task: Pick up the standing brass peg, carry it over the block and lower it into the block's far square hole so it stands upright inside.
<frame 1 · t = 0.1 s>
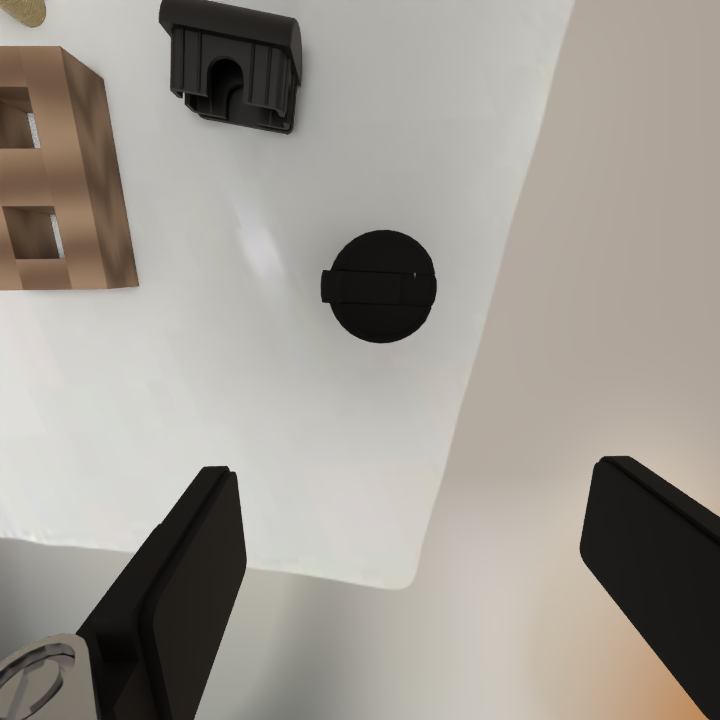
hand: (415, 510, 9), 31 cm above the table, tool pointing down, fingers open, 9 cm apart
end cap: (249, 86, 33), on the table
travel mug: (366, 277, 38), on the table
hole block: (66, 190, 35), on the table
brass peg: (28, 6, 31), on the table
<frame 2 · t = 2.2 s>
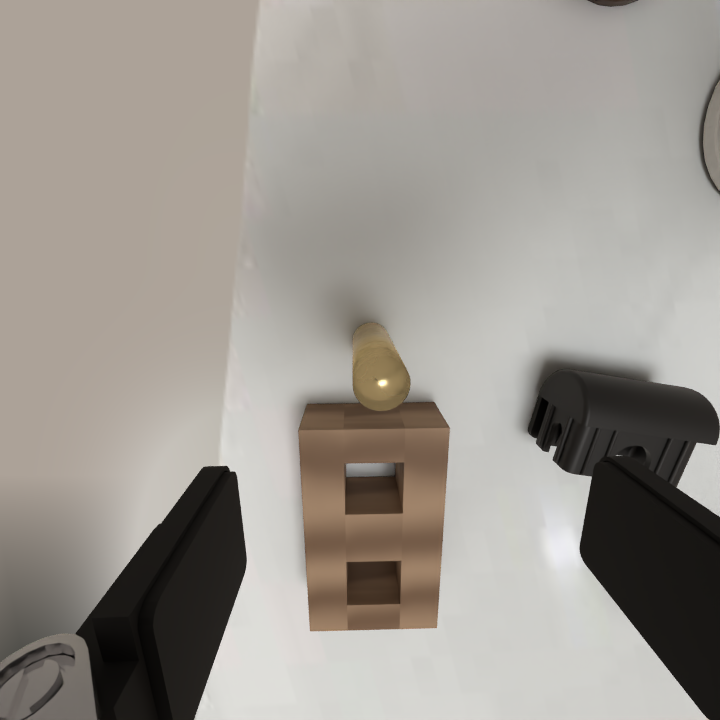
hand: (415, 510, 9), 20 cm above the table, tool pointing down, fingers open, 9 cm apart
end cap: (584, 403, 31), on the table
hole block: (370, 498, 33), on the table
brass peg: (370, 340, 29), on the table
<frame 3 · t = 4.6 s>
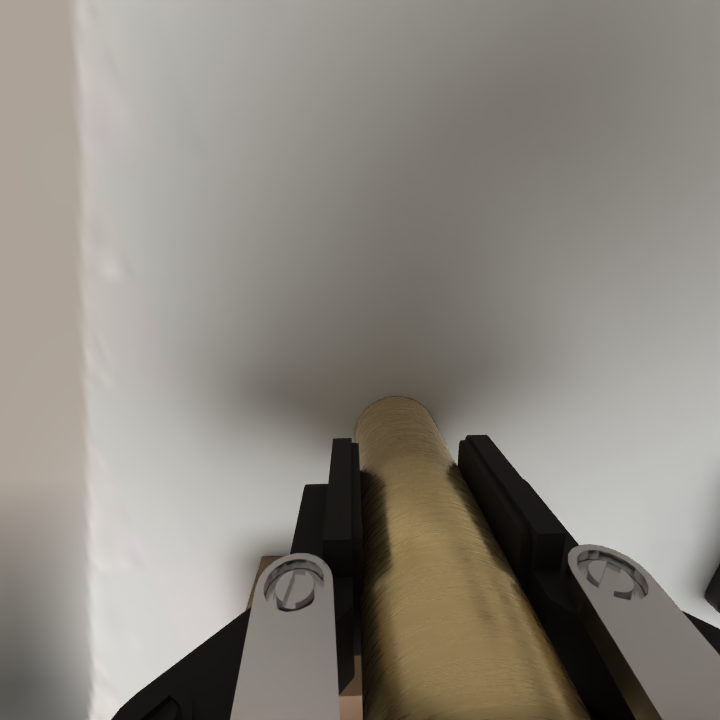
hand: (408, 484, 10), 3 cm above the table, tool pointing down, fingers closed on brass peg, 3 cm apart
hole block: (391, 712, 17), on the table
brass peg: (395, 433, 13), on the table, touching gripper
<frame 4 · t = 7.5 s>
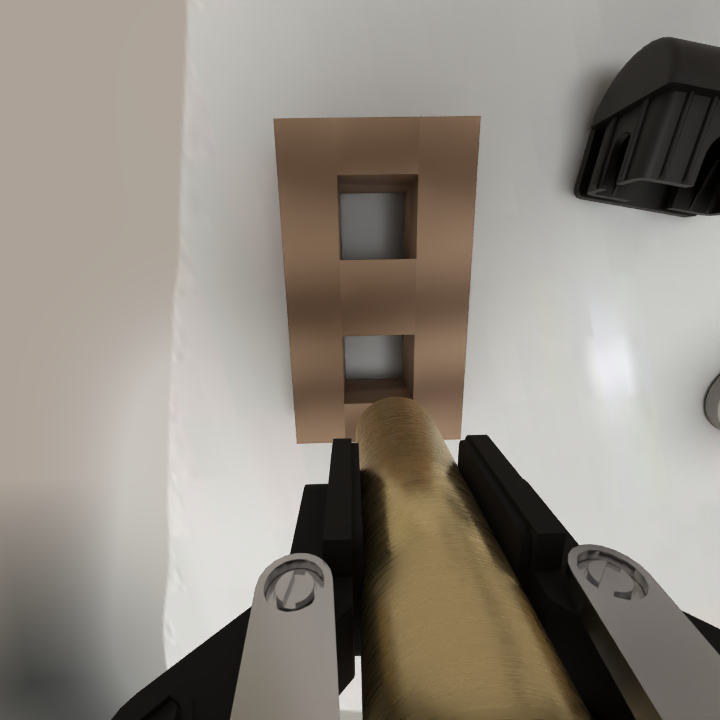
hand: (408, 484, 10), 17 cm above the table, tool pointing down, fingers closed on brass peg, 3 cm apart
end cap: (646, 154, 24), on the table
hole block: (373, 292, 26), on the table
brass peg: (395, 433, 13), point 14 cm above the table, touching gripper
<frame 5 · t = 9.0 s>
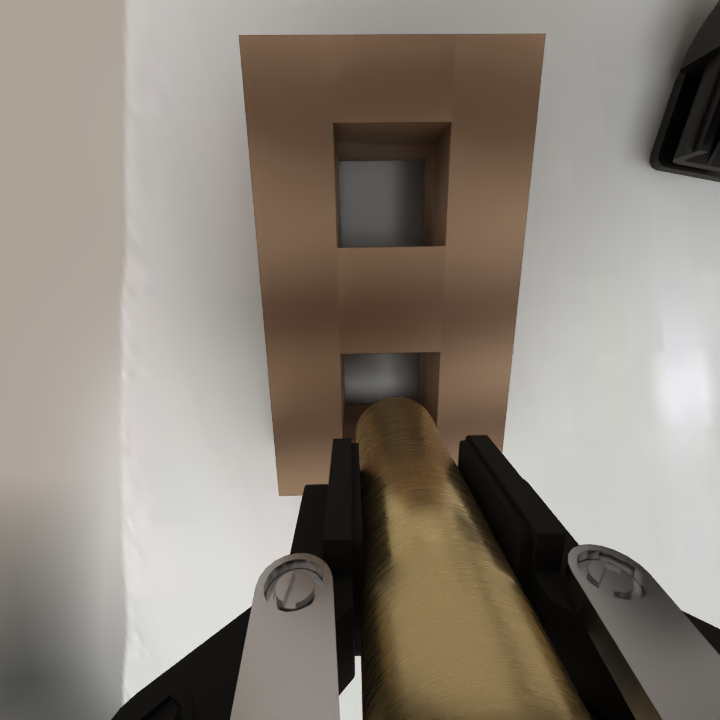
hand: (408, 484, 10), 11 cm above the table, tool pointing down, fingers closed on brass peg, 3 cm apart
hole block: (381, 293, 20), on the table
brass peg: (395, 434, 13), point 8 cm above the table, touching gripper
when the fingers open (6 cm above the table, at t = 10.4 s): brass peg drops 3 cm, resting in hole block.
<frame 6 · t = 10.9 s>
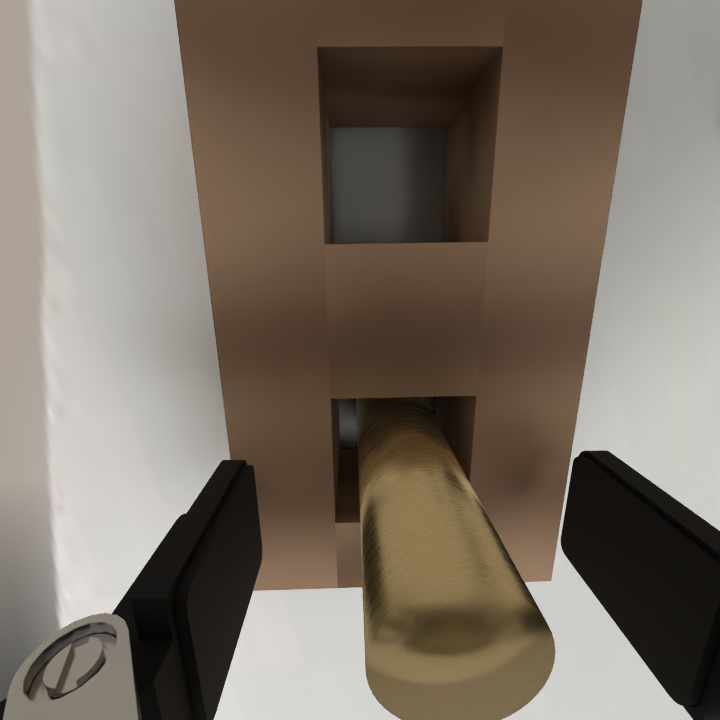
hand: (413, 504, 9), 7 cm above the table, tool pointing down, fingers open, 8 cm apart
hole block: (387, 305, 15), on the table
brass peg: (388, 402, 16), resting in hole block
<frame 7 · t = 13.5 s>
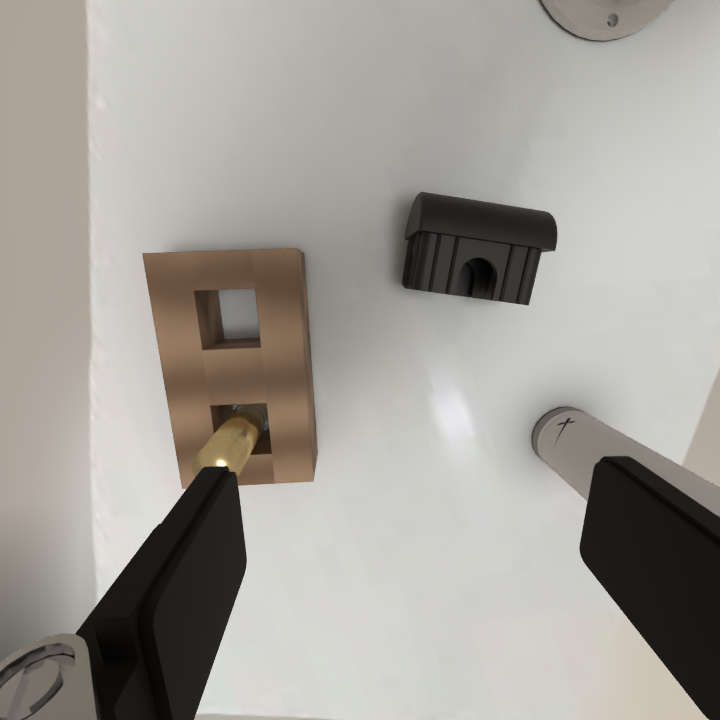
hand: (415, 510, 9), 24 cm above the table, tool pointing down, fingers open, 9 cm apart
end cap: (456, 254, 31), on the table
travel mug: (558, 434, 36), on the table
hole block: (251, 362, 32), on the table
brass peg: (257, 407, 33), resting in hole block
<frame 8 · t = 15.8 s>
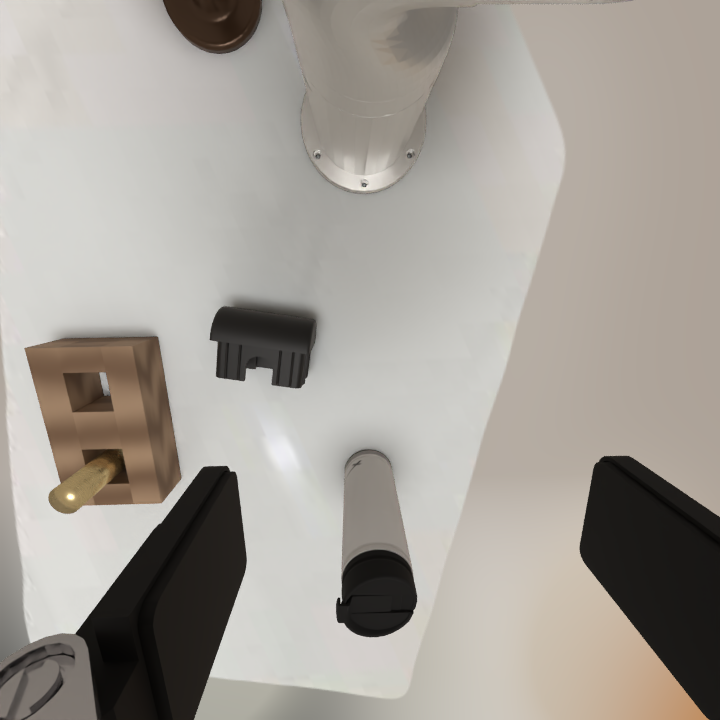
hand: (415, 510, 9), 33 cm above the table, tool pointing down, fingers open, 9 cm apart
end cap: (273, 338, 42), on the table
travel mug: (366, 469, 47), on the table
hole block: (125, 412, 44), on the table
brass peg: (132, 444, 45), resting in hole block
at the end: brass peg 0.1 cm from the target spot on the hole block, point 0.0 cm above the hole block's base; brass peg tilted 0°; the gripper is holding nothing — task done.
